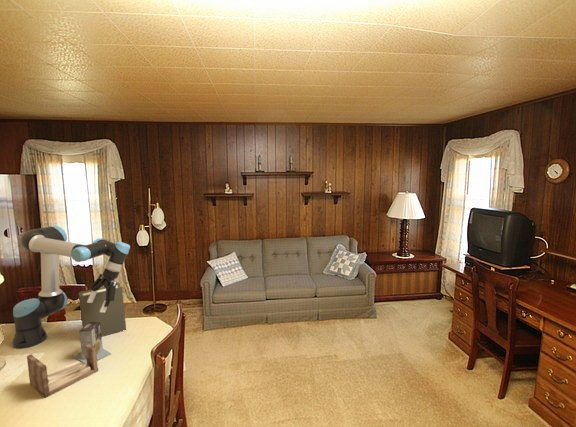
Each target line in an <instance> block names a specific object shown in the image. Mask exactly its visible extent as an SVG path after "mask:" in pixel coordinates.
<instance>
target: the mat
mask: <svg viewBox="0 0 576 427" xmlns="http://www.w3.org/2000/svg"><path fill="white" fill-rule="evenodd" d="M110 355H112V352H110V351H108V350H107V349H105V348H103V349H102V351H101V352H100V353H99V354H98V355H97V362H98V361H100V360H103V359H104V358H106V357H108V356H110ZM73 358H75V359H76V360H78V362H82V363H84V364H86V365H87V359H82V355H81V352H80V353H77V354H74V355H73Z"/></svg>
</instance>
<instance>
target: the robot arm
mask: <svg viewBox="0 0 576 427" xmlns="http://www.w3.org/2000/svg"><path fill="white" fill-rule="evenodd" d="M19 240H20V241H19V242H20V246H21V248H22V249H24V250H25V251H28V252H31V253H40V270H41V271H40V273H41V277H40V278H41V290H40V292H38V298H35V297H33V298H28V299H24V300H22V301H19V302H18V303H16V304H15V305H14V306H13V309H12V311H13V312H12V316H13V320H14V322H13V323H14V329H15V333H14V337H13V340H12V347H13V348H14V349H26V348H30V347H34V346H36V345H39V344H41V343H42V342H44V341H46V339H47V338H48V335H47V331H46V329H45V328H44V326H43V323H42V319H45V318H46V317H49V316H51V315H53V314H55V313H56V314H57V313H58V312H60V311H61V310H63V309H65V307H66V306H67V304H68V297H67V295H66V294H67V293H65V292H64V291H63V290H62V289H61V288H60V256H62V257H63V256H64V257H68V258H71V259H72V260H73V261H74V262H76V263H80V262H81V263H82V262H86V261H89V260H91V259H95V258H98V257H100V256H103V255H104V256H107V257H109V259H108V260H107V263H106V265H105V268H104V270H103V272H102V274H101V273H99V276H98V277H97V278H96V279H95V281H94V282H93V283H92V284H91V285H90V289H91V290H92V291H91V293H90V296H89V298H88V300H87V303H92V302H93V300H94V298H95V296H96V293H97V291H98V289H99V288H102V287H105V288H106V299H105V300H104V302H103V305H102V307H101V309H100V311H99V312H105V311H106V309H107V307H108V305H109V303H110V301H114V297H115V290H116V285H117V283H118V282H117V281H115V279H118V277H119V274H120V271H121V269H122V267H123V264H124V263H125V260H126V259H127V256H128V255H129V251H130V249H131V246H130V244H129V243H125V242H123V241H117V242H116V243H114V242H113V241H110V240H107V239H104V238H101V237H99V238H96V239H95V240H94V241H93V243H90V244H81V243H76V242H69V241H67V240H68V235H67V233H66V231H65V230H64V229H63V228H62V227H60V226H59V225H53V226H51V225H49V226H45V227H39V228H35V229H34V228H33V229H30V230H27V231H25V232H23V234H22V235H21V237H20V238H19ZM109 286H110V287H109Z"/></svg>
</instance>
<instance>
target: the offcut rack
mask: <svg viewBox="0 0 576 427" xmlns="http://www.w3.org/2000/svg"><path fill="white" fill-rule="evenodd" d="M85 347H86V358H87V365H86V364H84V363H82V362H80V361H76V362H74V363H72V364H69V365H67V366H64V367H62V368H60V369H57V370H54V371H52V372H50V373H48V370H47V369H48V367H47V365H46V364H45V363H43V362H42V361H40V360H39V359H38V358H36V356H34V355H33V354H29V355H27V356H26V359H27V368H28V377H29V384H30V386H31V387H32V388H33V389H35V390H36V391H37V392H38V393H39V394H40V395H41V396H43V398H44V399H46V398H48V397H50V396H52V395H54V394H56V393H58V392H60V391H62V390H64V389H66V388H68V387H70V386H72V385H74V384H76V383H77V382H80V381H81V380H83V379H86V378H88V377H90V376H91V375H93V374H96V373H98V372H99V367H98V366H99V365H98V361H97V352H96V348H95V347H93V346H91V345H90V344H88V345H85Z"/></svg>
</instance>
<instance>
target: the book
mask: <svg viewBox="0 0 576 427" xmlns="http://www.w3.org/2000/svg"><path fill="white" fill-rule="evenodd" d="M109 287H110V286H109ZM91 291H92V289H88V290H83V291H79V293H78V300H79V308H80V309H79V310H80V317H81V324H82V328H83V327H84V326H85V325H86V324H87V323H88V322H100V325H101V335H102V337H105V336H108V335H112V334H116V333H120V331H121V332H124V331H123V330H126V331H127V323H126V314H125V313H126V312H125V304H124V295H123V286H121V283H120V282H117V285H116V290H115V297H114V301H110V303H109V305H108V307H107V309H106V311H105V312H99V311H100V309H101V307H102V305H103V302H104V300H105V299H106V288H105V286H102V287H101V288H99V289H98V291H97V293H96V296H95V298H94V300H93V302H92V303H87V300H88V298H89V296H90V293H91Z"/></svg>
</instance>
